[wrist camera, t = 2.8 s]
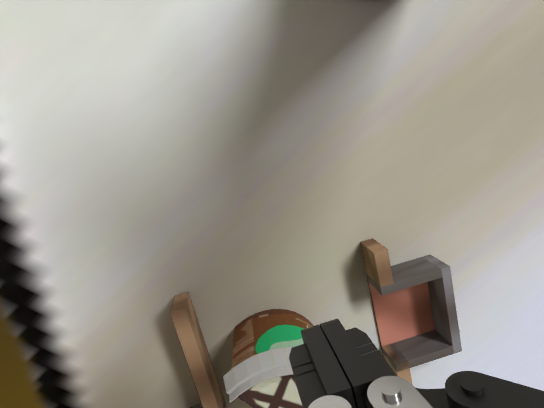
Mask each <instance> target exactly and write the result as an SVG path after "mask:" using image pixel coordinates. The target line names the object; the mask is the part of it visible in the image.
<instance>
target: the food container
mask: <svg viewBox="0 0 544 408" xmlns="http://www.w3.org/2000/svg"><path fill="white" fill-rule="evenodd" d="M309 327H313V325H312V323H311V322H310V321H309V320H308V319H306V318H305V317H303V316H302V315H300V314H298V313H296V312H293V311H289V310H283V309H271V310H266V311H262V312H259V313H256V314H254V315H252V316H250V317H248V318H246V319H245V320H243V321H242V322H241V323H239V324H238V325H237V326H236V327H235V332H234V344H233V355H232V367H231V370H230V371H229V372H228V373H226V374H225V375H224V376H223V378H224V383H225V388H226V393H227V394H229V401H230V403H231V402H232V401H233V400H234V399H236V398H237V397H239V398H240V399H241V400H243V401H245V402H246V403H248V404H249V405H251V406H252V407H253V408H303V407H302V403H301V400H300V397H299V393H298V390H297V386H296V382H295V379H294V375H293V371H292V368H291V364H290V360H289V355H290V352H291V348H292V347H295V346H298V345H302V344H304V343H303V339H302V335H301V330H303V329H306V328H309Z"/></svg>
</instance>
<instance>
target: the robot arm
mask: <svg viewBox="0 0 544 408" xmlns="http://www.w3.org/2000/svg"><path fill="white" fill-rule="evenodd" d="M301 335H302V339H303V343H304V344H302V345H298V346H295V347H292V348H291V352H290V355H289V360H290V364H291V368H292V371H293V375H294V379H295V382H296V386H297V390H298V393H299V397H300V400H301V403H302V407H303V408H544V391H541V390H538V389H534V388H531V387H527V386H524V385H520V384H517V383H513V382H510V381H506V380H503V379H499V378H496V377H492V376H489V375H485V374H482V373H478V372H473V371H461V372H457V373H454V374H452V375H451V376H450V377H449V378H448V379H447V380H446V383H445V388H444V389H419V388H415V387H414V386H413V385H412V384H411V383H410V382H409V381H407V380H405V379H403V378H401V377H397V375H396V374H395V372H394V371H393V370H392V368H391V367H390V366H389V364H388V363H387V361H386V360H385V359H384V357H383V356H382V355H381V353H380V352H379V351H378V350H377V348H376V346H375V345H374V344H373V343H372V341H371V340H370V338H369V337H368V335H367V334H366V333H364V332H363V331H361V330H359V329H357V328H352V329H349V330H345V329H344V327H343V326H342V324H341V323H340V321H339V320H338V319H335V320H332V321H328V322H325V323H322V324H320V326H319V325H316V326H313V327H309V328H306V329H303V330H301Z"/></svg>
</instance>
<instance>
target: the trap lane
mask: <svg viewBox="0 0 544 408" xmlns="http://www.w3.org/2000/svg"><path fill="white" fill-rule="evenodd" d="M360 243H361V248H362V253H363V258H364V263H365V268H366V273H367V278H368V283H369V288H370V293H371V298H372V302H373V307H374V312H375V317H376V322H377V327H378V332H379V337H380V342H381V347H382V352H383V357H384V359H385V360H386V361H387V363H388V364H389V366H390V367H391V368H392V370H393V371H394V372H395V374H396V375H397V377H401V378H403V379H405V380H407V381H409V382H410V383H411V384H412V380H411V374H410V369H409V368H411V367H414V366H417V365H420V364H424V363H427V362H430V361H433V360H436V359H439V358H442V357H445V356H448V355H451V354H454V353H457V352H460V351H462V348H461V341H460V334H459V327H458V320H457V313H456V306H455V299H454V292H453V285H452V278H451V271H450V266H448V265H447V264H445V263H443V262H442V261H440V260H438V259H437V258H435V257H433V256H431V255H428V256H424V257H421V258H418V259H414V260H411V261H408V262H404V263H401V264H398V265H394V266H391V265H390V260H389V254H388V249H387V248H385V247H384V246H383V245H381V244H380V243H378V242H377V241H376V240H374V239H369V240H366V241H362V242H360ZM170 314H171V317H172V320H173V323H174V326H175V329H176V331H177V334H178V337H179V340H180V343H181V346H182V349H183V352H184V354H185V357H186V360H187V363H188V366H189V369H190V372H191V375H192V377H193V380H194V383H195V386H196V389H197V392H198V395H199V398H200V400H201V403H202V404H201V405H198V406H195V407H192V408H226V405H225V402H224V399H223V396H222V393H221V390H220V387H219V384H218V381H217V377H216V374H215V371H214V368H213V365H212V362H211V359H210V356H209V353H208V350H207V347H206V344H205V341H204V338H203V335H202V332H201V329H200V326H199V323H198V320H197V317H196V314H195V311H194V308H193V305H192V302H191V299H190V296H189V293H188V292H187V293H184V294H180V295H177V296H175V297H174V301H173V304H172V308H171V311H170Z"/></svg>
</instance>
